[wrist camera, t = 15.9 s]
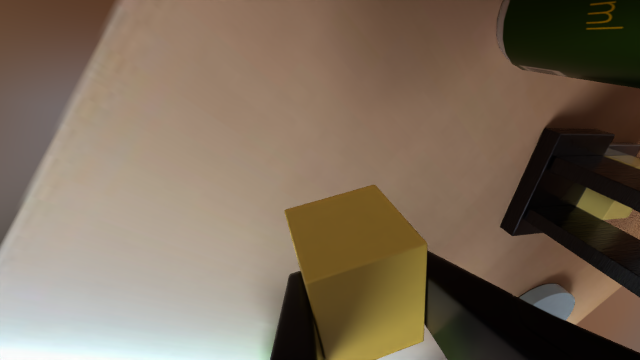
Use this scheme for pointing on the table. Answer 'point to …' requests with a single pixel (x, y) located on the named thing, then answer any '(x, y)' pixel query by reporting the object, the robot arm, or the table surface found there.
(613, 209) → the butter dish
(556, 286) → the plate
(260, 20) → the table surface
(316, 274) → the butter pat
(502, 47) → the beer can
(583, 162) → the cutter
